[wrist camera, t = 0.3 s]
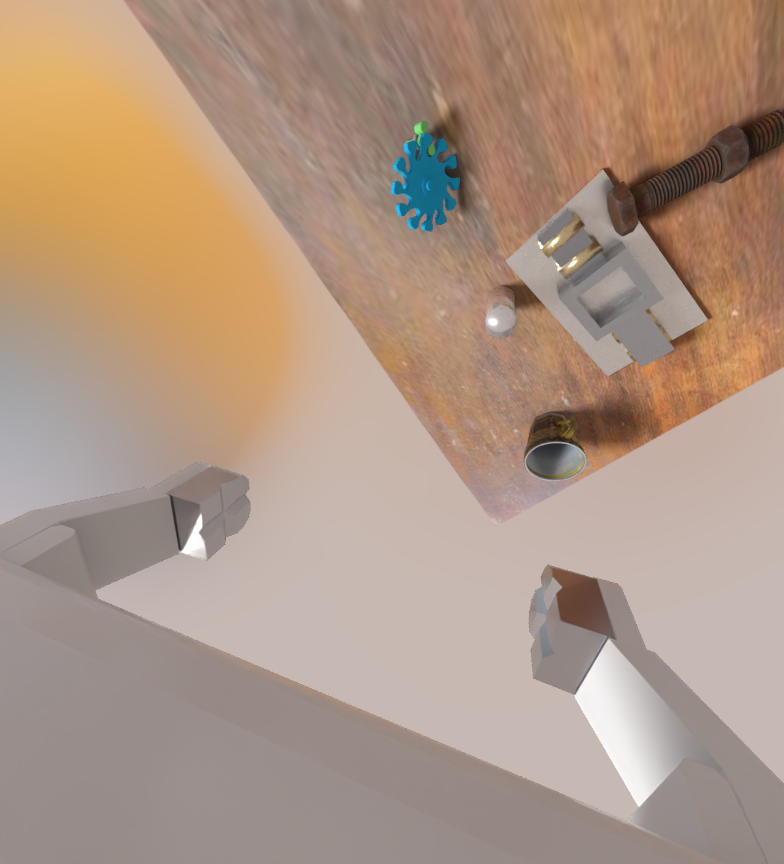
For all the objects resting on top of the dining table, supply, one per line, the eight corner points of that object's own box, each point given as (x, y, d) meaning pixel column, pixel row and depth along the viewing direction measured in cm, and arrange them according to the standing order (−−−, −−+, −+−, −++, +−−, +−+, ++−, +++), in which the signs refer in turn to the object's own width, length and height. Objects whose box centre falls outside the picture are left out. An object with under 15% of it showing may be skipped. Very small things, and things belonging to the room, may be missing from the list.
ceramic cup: (564, 448, 71) (571, 486, 64) (515, 437, 72) (516, 473, 65) (595, 398, 62) (607, 436, 55) (538, 387, 63) (542, 423, 56)
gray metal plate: (602, 168, 42) (608, 173, 39) (706, 318, 50) (717, 329, 47) (505, 260, 51) (505, 268, 48) (606, 374, 58) (611, 386, 56)
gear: (461, 227, 48) (399, 236, 44) (435, 226, 52) (376, 234, 48) (465, 120, 41) (393, 119, 38) (435, 129, 46) (368, 128, 42)
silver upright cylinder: (503, 280, 52) (502, 304, 46) (520, 298, 54) (522, 325, 47) (482, 298, 55) (479, 324, 49) (498, 316, 56) (498, 343, 50)
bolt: (759, 134, 38) (606, 215, 45) (774, 83, 34) (603, 181, 41) (791, 165, 36) (623, 246, 42) (811, 114, 32) (623, 213, 38)
